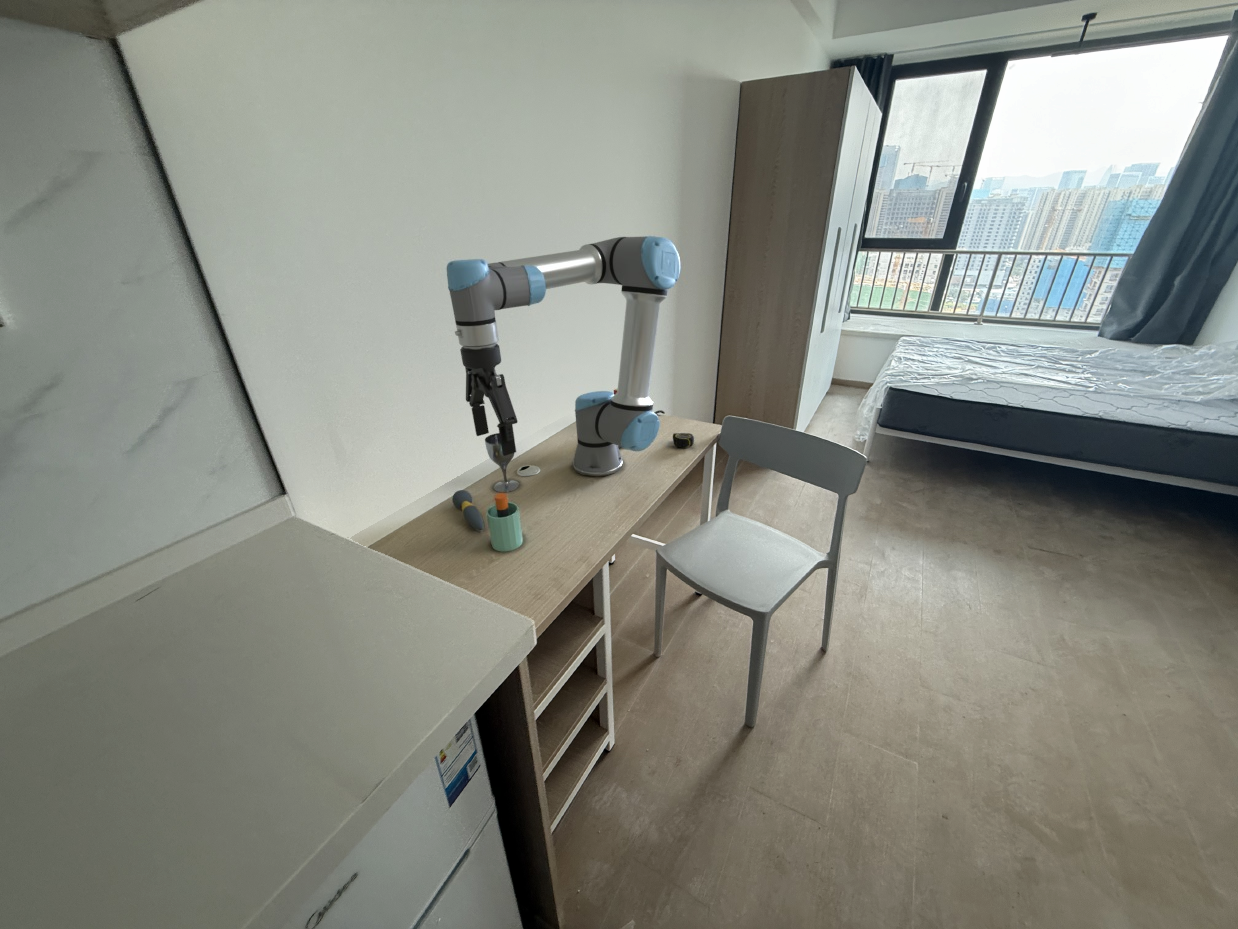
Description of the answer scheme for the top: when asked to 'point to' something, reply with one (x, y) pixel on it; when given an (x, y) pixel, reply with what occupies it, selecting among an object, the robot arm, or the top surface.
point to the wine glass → (500, 462)
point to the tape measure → (683, 439)
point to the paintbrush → (468, 509)
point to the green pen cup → (505, 528)
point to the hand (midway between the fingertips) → (495, 443)
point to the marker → (501, 505)
